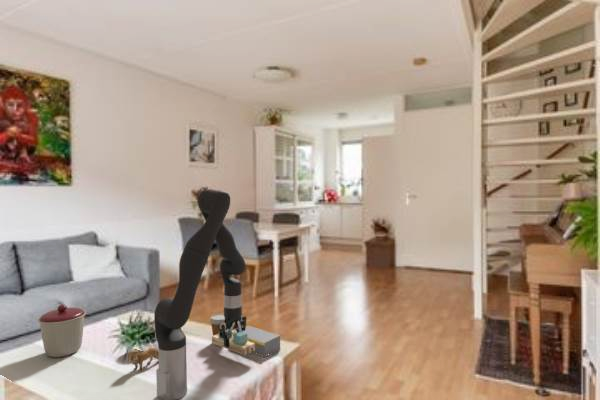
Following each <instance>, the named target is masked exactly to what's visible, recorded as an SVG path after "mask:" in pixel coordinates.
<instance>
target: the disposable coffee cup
mask: <svg viewBox="0 0 600 400" xmlns="http://www.w3.org/2000/svg"><path fill="white" fill-rule="evenodd" d="M224 321H225V317H224V312H221V313H215V314H213V315H211V317H210V319H209V322H210V324H211V330H212V336H214V335H216V334H219V326H218V325H219V324H222V323H224Z"/></svg>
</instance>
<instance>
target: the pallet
mask: <svg viewBox="0 0 600 400" xmlns="http://www.w3.org/2000/svg"><path fill="white" fill-rule="evenodd" d="M211 344H213V345H216V346H219V347H221V348H224V349H227V350H230V351H232V352H234V353H237V354H240V355H242V356H247V354H251V353H253V351H255V343H253V342H250V341H247V342H246V343H244V344H242V345H239V344H236V343H233V335H232V337H230V338H229V347H228V348H227V347H225V346H224V339H222V338H219V334H216V335H214V336H213V335H212V336H211ZM251 351H252V352H251Z"/></svg>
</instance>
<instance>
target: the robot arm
mask: <svg viewBox="0 0 600 400" xmlns="http://www.w3.org/2000/svg"><path fill="white" fill-rule="evenodd" d="M197 204H198V208H199V210H200V213H201V214H202V216H203V218H204V220H205V222H204V224H203V225H202V226H201V227H200V228H199V229H198V230H197V231H196V232H195V233H194V234H192V236H191V237H190V238H189V239H188V240H187V242H186V243H185V245H184V248H183V250H182V253H181V256H180V259H179V263H178V265H179V267H178V270H179V271H178V272H179V273H178V274H179V276H178V286H177V288H176V291H175V294H174V297H173V298H172V297H166V298H163V299H161V300H160V301H158V303H157V305H156V307H155V309H154V329H155V335H156V339H157V346H158V347H157V350H158V355H159V363H158V368H156V373H155V375H156V396H157V397H158V398H159V399H161V400H178V399H181V398H183V397H185V395H187V394H188V378H187V377H188V374H187V373H188V371H187V366H188V365H187V336H186V334H185V333H184V331H183V330H182V328H183V327H184V326H185V325H186V323H188V320H189V318H190V315H191V312H192V308H193V305H194V300H195V298H196V297H195V296H196V292H197V290H198V287H199V284H200V281H201V278H202V275H203V272H204V271H205V268H206V266H207V262H208V260H209V257H210V255H211V251H212V248H213V245H214V243H216V247H217V249H218V250H217V251H218V252H219V255H220V257H222V259H221V261H220V262H219V263H220V264H219V271H220V274H221V278H222V281H223V286H224V287H223V288H224V290H223V291H224V292H223V293H224V295H223V314H224V317H225V321H224V323H222V324H219V325H218V326H219V335H220V337H221V338H224V346H225V347H227V348H228V347H229V336H230V334H231V333H232V332H233V331H234V330H235V331H237V333H238V332H243V331H245V329H246V326H247V316H245V315H243V301H242V299H243V298H242V282H241V280H239V279H238V278H234V276H235V275H236V276H240V275H243V274H244V273H245V271H246V267H247V266H246V261H245V259H244V257H243V256H242V254H241V253H240V252H239V249H238V247H237V246H236V242H235V238H234V236H233V234H232V232H231V231H230V230H229V228H228V227H227V225H226V224H225V223H224V221H225V218H226V217H227V214H228V211H229V209H230V206H231V196H230V194H229V193H228V192H227V191H224V190H219V189H212V188H211V189H210V188H206V189H203V190H202V191H200V193H198V197H197ZM227 329H229V331H228V330H227Z"/></svg>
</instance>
